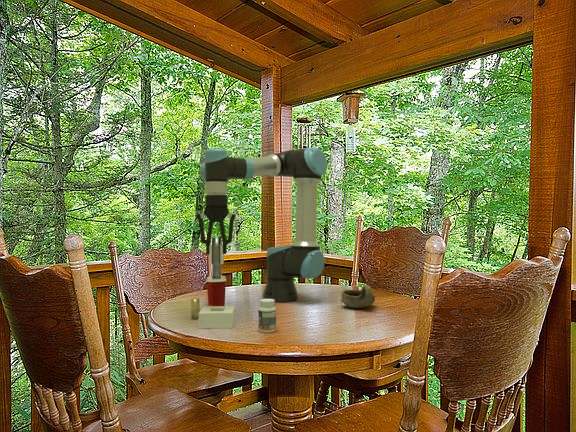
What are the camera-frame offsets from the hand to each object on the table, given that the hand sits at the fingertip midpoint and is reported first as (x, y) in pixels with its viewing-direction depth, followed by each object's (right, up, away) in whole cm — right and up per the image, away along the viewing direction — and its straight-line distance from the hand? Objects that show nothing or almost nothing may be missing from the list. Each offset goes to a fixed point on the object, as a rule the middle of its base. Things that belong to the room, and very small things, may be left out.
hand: (216, 263), depth 155 cm
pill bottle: (+18, -21, -9) cm, 29 cm away
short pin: (-9, -21, +9) cm, 24 cm away
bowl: (+52, -20, +24) cm, 61 cm away
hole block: (0, -21, 0) cm, 21 cm away
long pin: (0, -5, 0) cm, 5 cm away
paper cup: (-3, -21, +16) cm, 26 cm away
